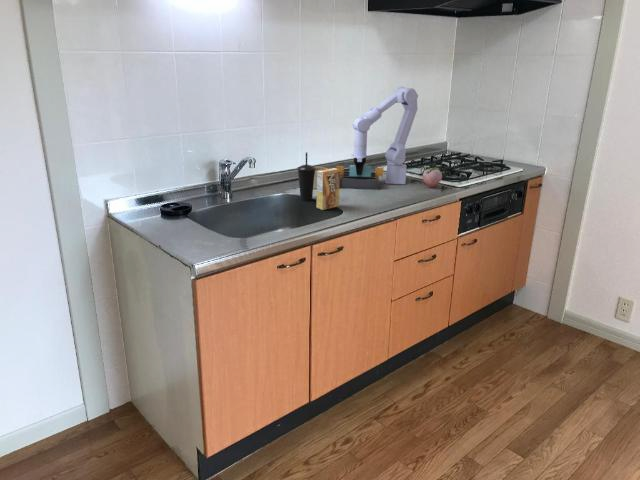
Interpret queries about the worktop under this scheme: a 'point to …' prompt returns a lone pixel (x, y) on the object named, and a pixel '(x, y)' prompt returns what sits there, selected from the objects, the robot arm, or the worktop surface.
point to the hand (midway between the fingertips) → (359, 174)
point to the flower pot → (316, 176)
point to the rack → (359, 180)
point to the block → (365, 172)
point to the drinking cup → (306, 181)
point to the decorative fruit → (432, 176)
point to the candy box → (328, 188)
